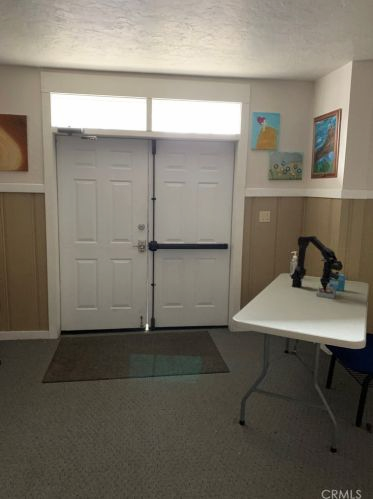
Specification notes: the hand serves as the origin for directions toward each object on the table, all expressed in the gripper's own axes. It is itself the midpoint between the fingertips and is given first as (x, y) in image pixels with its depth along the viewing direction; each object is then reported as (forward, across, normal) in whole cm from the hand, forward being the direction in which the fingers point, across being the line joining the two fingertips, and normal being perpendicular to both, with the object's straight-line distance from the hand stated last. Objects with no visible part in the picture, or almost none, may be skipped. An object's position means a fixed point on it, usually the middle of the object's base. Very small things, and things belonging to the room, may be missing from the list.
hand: (325, 289), depth 284 cm
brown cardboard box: (+2, 0, 0) cm, 2 cm away
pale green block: (-1, 0, 0) cm, 1 cm away
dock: (+5, 0, 0) cm, 5 cm away
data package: (+5, +22, -4) cm, 23 cm away
